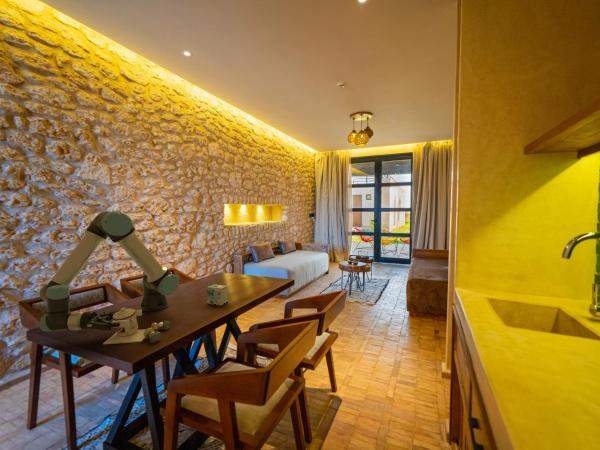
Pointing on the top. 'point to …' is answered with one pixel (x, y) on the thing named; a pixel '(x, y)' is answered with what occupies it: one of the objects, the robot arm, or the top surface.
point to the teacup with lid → (126, 315)
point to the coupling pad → (126, 338)
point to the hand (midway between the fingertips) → (135, 317)
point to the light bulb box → (217, 294)
